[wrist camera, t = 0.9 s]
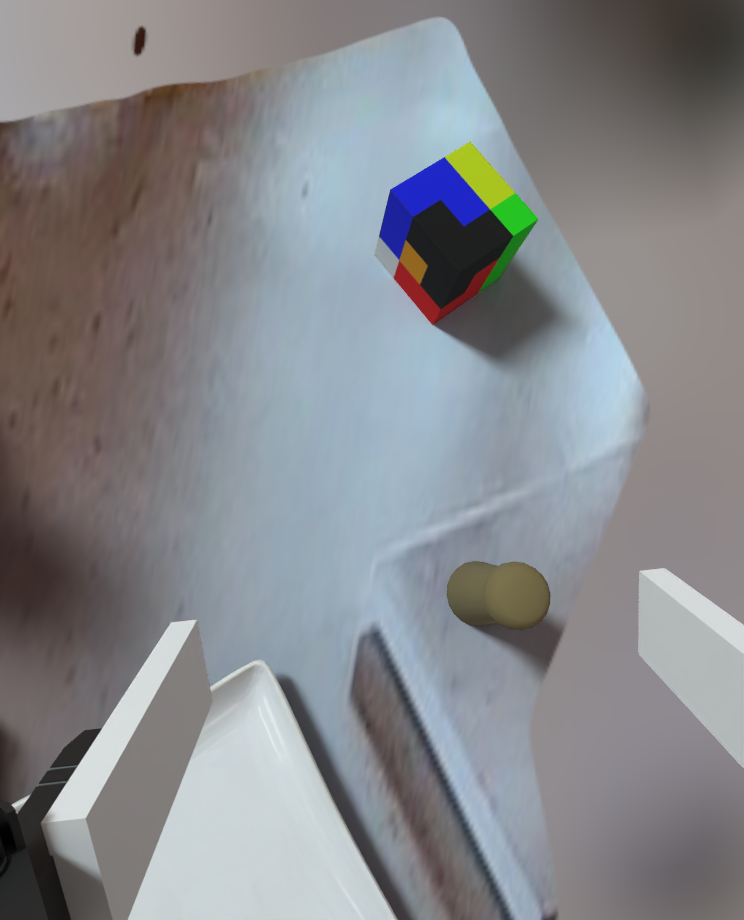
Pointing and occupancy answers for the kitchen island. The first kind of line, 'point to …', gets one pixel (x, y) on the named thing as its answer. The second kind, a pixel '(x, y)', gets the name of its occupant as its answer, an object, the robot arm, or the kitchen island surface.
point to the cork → (498, 594)
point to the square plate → (255, 823)
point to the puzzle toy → (451, 231)
